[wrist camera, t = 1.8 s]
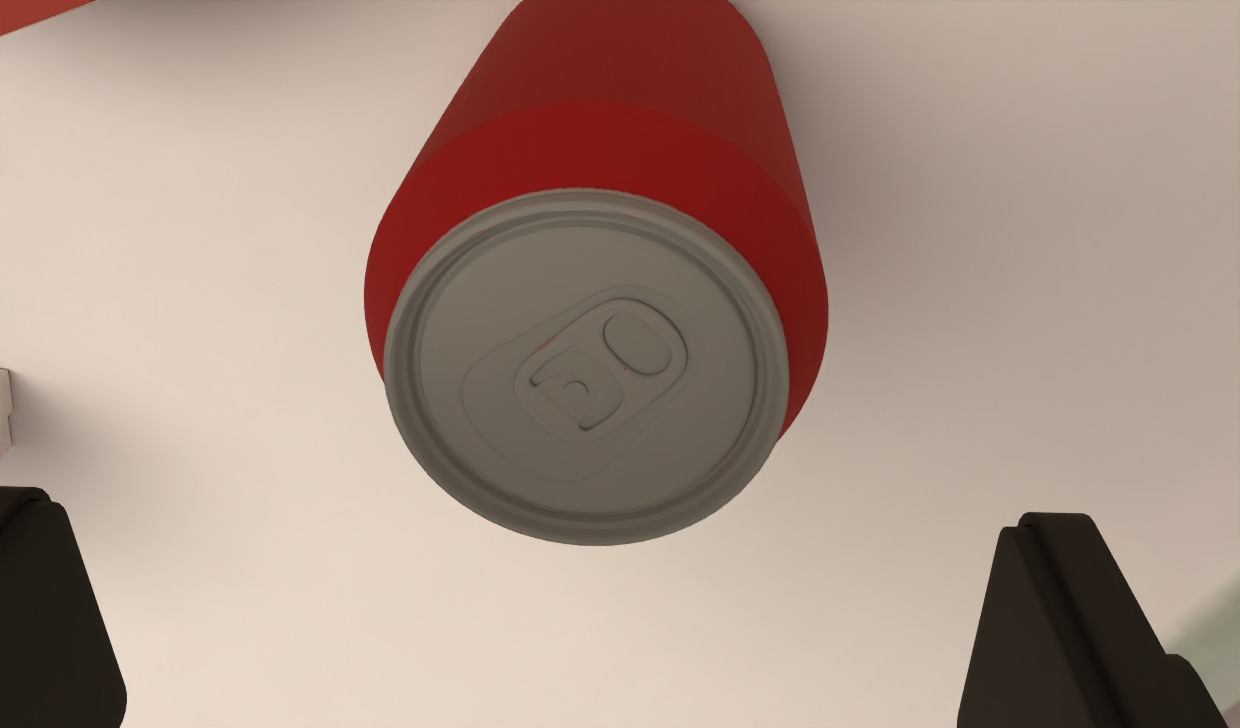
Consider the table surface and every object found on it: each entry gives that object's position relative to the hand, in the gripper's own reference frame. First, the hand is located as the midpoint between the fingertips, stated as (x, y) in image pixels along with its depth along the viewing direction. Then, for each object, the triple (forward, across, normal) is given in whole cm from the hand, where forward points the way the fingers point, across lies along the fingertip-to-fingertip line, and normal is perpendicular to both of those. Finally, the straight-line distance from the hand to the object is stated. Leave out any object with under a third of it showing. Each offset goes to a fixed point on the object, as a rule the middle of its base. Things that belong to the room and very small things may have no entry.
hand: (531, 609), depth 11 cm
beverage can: (+16, 0, 0) cm, 16 cm away
